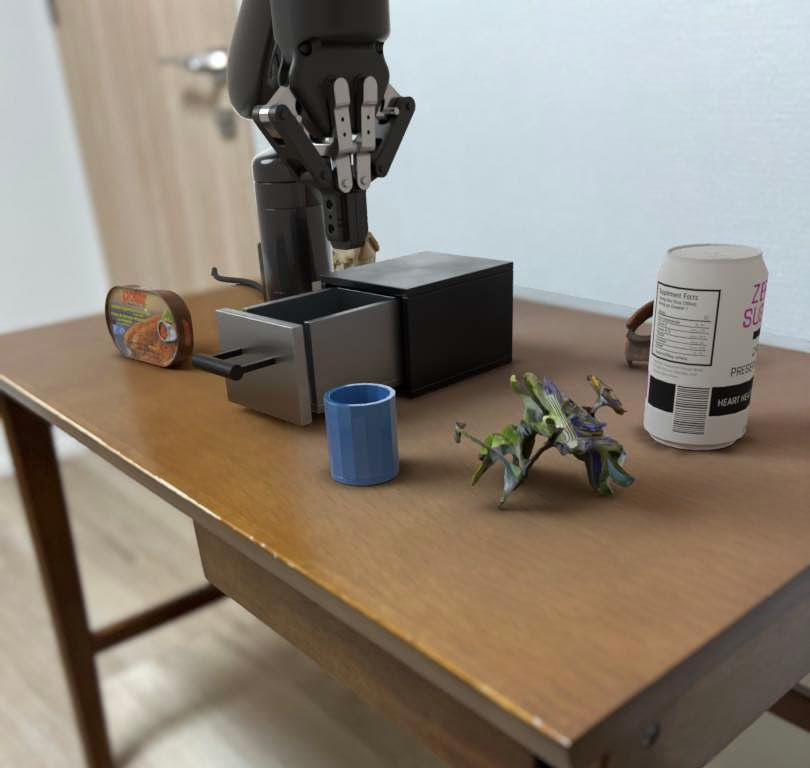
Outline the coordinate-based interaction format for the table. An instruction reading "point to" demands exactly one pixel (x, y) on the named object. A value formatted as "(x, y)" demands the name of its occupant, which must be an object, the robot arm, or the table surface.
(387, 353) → the dish drawer
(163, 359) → the tin
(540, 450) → the passion flower
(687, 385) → the supplement can
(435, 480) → the table surface
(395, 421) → the blue cup
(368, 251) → the ceramic model
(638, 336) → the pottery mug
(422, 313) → the black drawer cabinet
